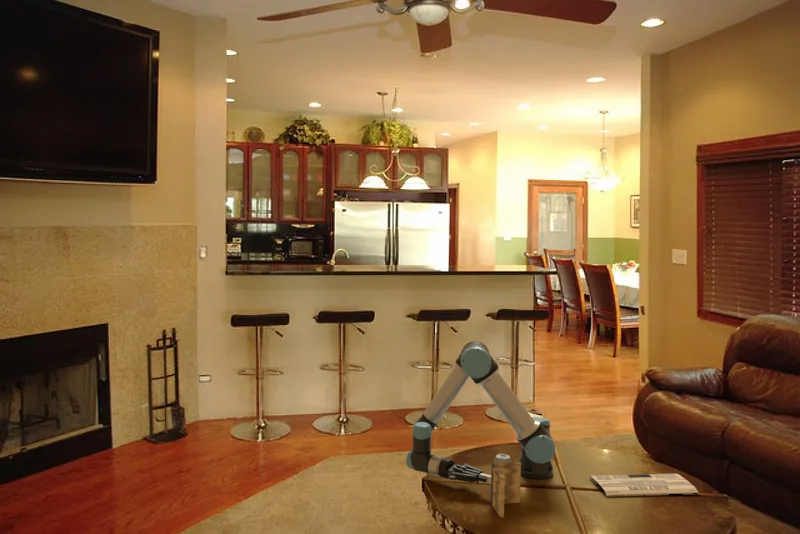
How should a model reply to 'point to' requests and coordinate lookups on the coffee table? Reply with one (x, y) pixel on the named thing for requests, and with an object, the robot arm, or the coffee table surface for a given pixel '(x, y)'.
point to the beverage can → (502, 459)
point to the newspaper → (644, 484)
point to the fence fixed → (498, 491)
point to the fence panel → (509, 481)
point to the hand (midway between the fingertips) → (495, 481)
